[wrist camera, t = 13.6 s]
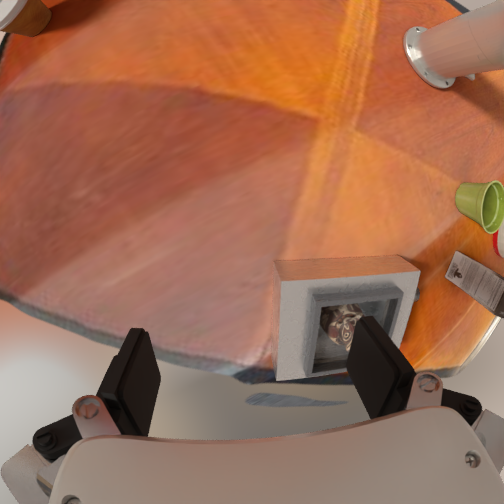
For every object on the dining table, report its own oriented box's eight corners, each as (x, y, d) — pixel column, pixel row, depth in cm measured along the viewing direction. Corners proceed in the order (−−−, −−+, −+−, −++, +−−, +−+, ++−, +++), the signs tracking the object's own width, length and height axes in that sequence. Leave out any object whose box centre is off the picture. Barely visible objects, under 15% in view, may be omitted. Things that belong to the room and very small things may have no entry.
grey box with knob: (410, 254, 42) (441, 274, 34) (390, 337, 48) (411, 364, 40) (273, 260, 41) (284, 288, 32) (270, 353, 47) (278, 389, 38)
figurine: (354, 284, 42) (388, 325, 31) (356, 319, 44) (385, 362, 33) (313, 297, 42) (338, 343, 31) (318, 331, 44) (340, 379, 33)
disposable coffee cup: (54, -4, 20) (24, -26, 8) (62, 19, 23) (27, -4, 12) (19, 28, 21) (-15, 14, 9) (25, 53, 24) (-14, 40, 12)
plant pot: (477, 174, 38) (507, 181, 30) (475, 219, 41) (504, 231, 33) (449, 173, 38) (482, 180, 29) (448, 223, 41) (479, 236, 33)
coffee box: (475, 260, 44) (524, 290, 29) (464, 286, 46) (509, 321, 31) (455, 249, 43) (510, 281, 28) (443, 277, 45) (494, 316, 30)
